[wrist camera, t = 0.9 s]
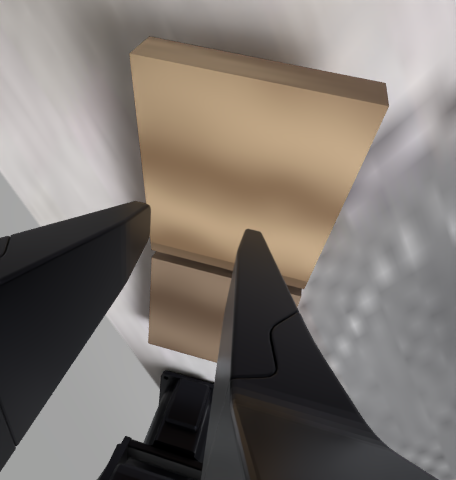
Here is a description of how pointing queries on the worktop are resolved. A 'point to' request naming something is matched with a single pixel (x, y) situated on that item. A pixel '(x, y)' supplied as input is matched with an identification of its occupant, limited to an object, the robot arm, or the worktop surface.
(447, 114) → the worktop surface
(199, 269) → the tan flat block
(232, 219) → the tan rectangular slab
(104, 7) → the worktop surface
